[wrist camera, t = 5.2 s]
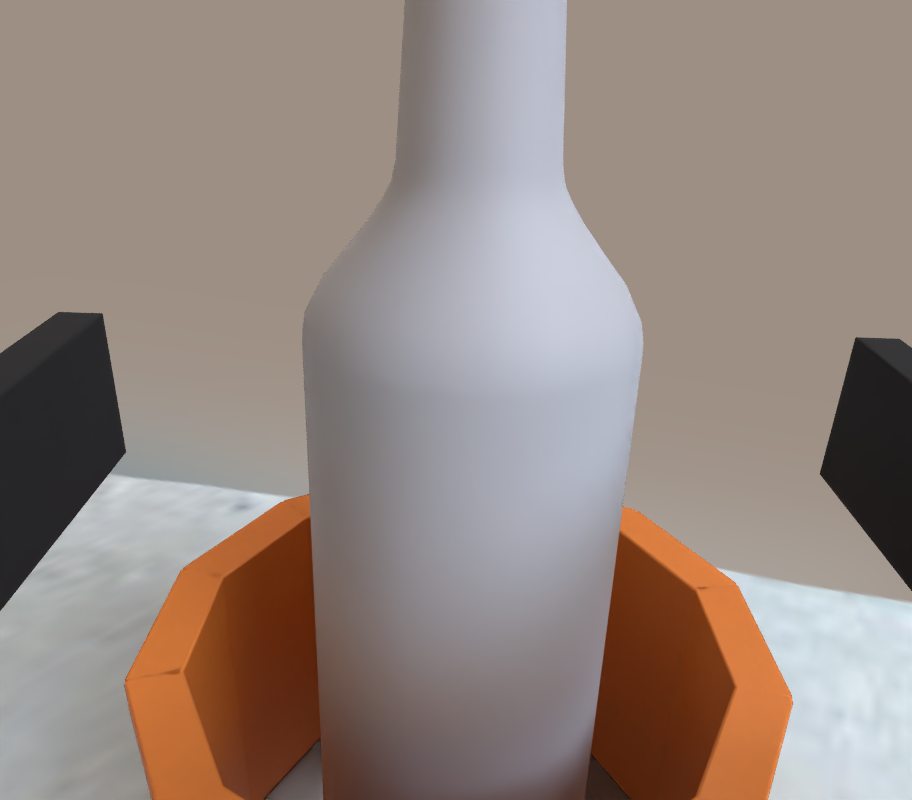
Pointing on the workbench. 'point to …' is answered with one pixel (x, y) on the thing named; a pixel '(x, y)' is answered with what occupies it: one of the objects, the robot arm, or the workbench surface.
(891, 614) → the workbench surface
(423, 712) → the bottle
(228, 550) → the bucket
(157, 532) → the workbench surface
